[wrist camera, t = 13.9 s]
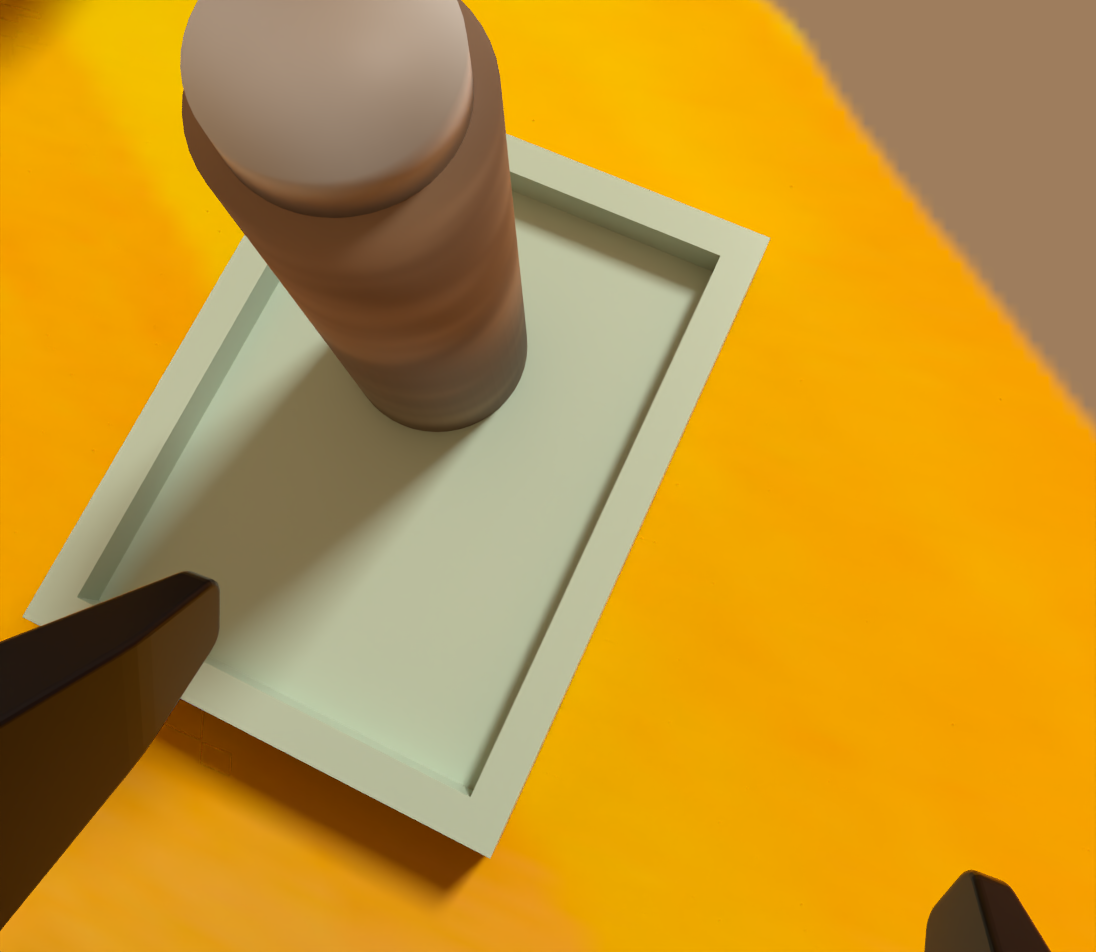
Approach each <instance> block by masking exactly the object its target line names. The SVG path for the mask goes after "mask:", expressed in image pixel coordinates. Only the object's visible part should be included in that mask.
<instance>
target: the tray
mask: <svg viewBox="0 0 1096 952" xmlns="http://www.w3.org/2000/svg"><path fill="white" fill-rule="evenodd" d="M506 140H507V149H508V159H509V169H510V178H511V188H512V197H513V207H514V217H515V226H516V236H517V245H518V255H519V265H520V274H521V284H522V293H523V303H524V312H525V322H526V332H527V346H528V347H527V359H526V363H525V368H524V371H523V373H522V376H521V379H520V381H519V383H518V385H517V386H516V388H515V390H514V391H513V393H512V394H511V396H510V397H509V398H508V399H507V401H506V402H505V403H504V404H503V405H502V406H501V407H500V408H499V409H497V410H496V411H495V412H494V413H493V414H491V415H490V416H488V417H487V418H485V419H483V420H482V421H480V422H478V423H475V424H473V425H471V426H468V427H465V428H462V429H458V430H453V431H445V432H429V431H421V430H416V429H412V428H409V427H406V426H403V425H401V424H399V423H397V422H395V421H393V420H391V419H390V418H388V417H387V416H385V415H384V414H383V413H381V412H380V411H379V410H378V409H377V408H376V407H375V406H374V405H373V404H372V403H371V402H370V400H369V399H368V398H367V397H366V396H365V394H364V393H363V392H362V390H361V389H360V388H359V386H358V385H357V384H356V382H355V381H354V380H353V378H352V377H351V376H350V374H349V373H348V371H347V370H346V369H345V367H344V366H343V365H342V363H341V362H340V361H339V359H338V358H337V357H336V355H335V354H334V353H333V351H332V350H331V349H330V347H329V346H328V345H327V343H326V342H325V341H324V339H323V338H322V337H321V335H320V334H319V333H318V331H317V330H316V329H315V327H314V326H313V325H312V323H311V322H310V321H309V319H308V318H307V317H306V315H305V314H304V313H303V311H302V310H301V309H300V307H299V306H298V305H297V303H296V302H295V301H294V299H293V298H292V297H291V295H290V294H289V293H288V291H287V290H286V289H285V287H284V286H283V285H282V283H281V282H280V281H279V279H278V278H277V277H276V275H275V274H274V273H273V271H272V270H271V269H270V267H269V266H268V265H267V263H266V262H265V261H264V259H263V258H262V257H261V255H260V254H259V253H258V251H257V250H256V249H255V247H254V246H253V245H252V243H251V242H250V241H249V239H248V238H247V237H246V235H244V237H243V239H242V240H241V242H240V244H239V245H238V247H237V249H236V251H235V252H234V254H233V256H232V257H231V259H230V261H229V263H228V264H227V266H226V268H225V269H224V271H223V273H222V275H221V276H220V278H219V280H218V281H217V283H216V285H215V287H214V288H213V290H212V292H211V294H210V295H209V297H208V299H207V300H206V302H205V304H204V306H203V307H202V309H201V311H200V312H199V314H198V316H197V318H196V319H195V321H194V323H193V324H192V326H191V328H190V330H189V331H188V333H187V335H186V337H185V338H184V340H183V342H182V343H181V345H180V347H179V349H178V350H177V352H176V354H175V355H174V357H173V359H172V361H171V362H170V364H169V366H168V367H167V369H166V371H165V373H164V374H163V376H162V378H161V379H160V381H159V383H158V385H157V386H156V388H155V390H154V392H153V393H152V395H151V397H150V398H149V400H148V402H147V404H146V405H145V407H144V409H143V410H142V412H141V414H140V416H139V417H138V419H137V421H136V422H135V424H134V426H133V428H132V429H131V431H130V433H129V434H128V436H127V438H126V440H125V441H124V443H123V445H122V447H121V448H120V450H119V452H118V453H117V455H116V457H115V459H114V460H113V462H112V464H111V465H110V467H109V469H108V471H107V472H106V474H105V476H104V477H103V479H102V481H101V483H100V484H99V486H98V488H97V489H96V491H95V493H94V495H93V496H92V498H91V500H90V502H89V503H88V505H87V507H86V508H85V510H84V512H83V514H82V515H81V517H80V519H79V520H78V522H77V524H76V526H75V527H74V529H73V531H72V532H71V534H70V536H69V538H68V539H67V541H66V543H65V544H64V546H63V548H62V550H61V551H60V553H59V555H58V557H57V558H56V560H55V562H54V563H53V565H52V567H51V569H50V570H49V572H48V574H47V575H46V577H45V579H44V581H43V582H42V584H41V586H40V587H39V589H38V591H37V593H36V594H35V596H34V598H33V600H32V601H31V603H30V605H29V606H28V608H27V610H26V612H25V613H24V615H23V617H24V618H26V619H28V620H30V621H31V622H33V623H35V624H37V625H39V626H42V625H45V624H47V623H50V622H52V621H55V620H57V619H60V618H63V617H65V616H68V615H70V614H73V613H75V612H78V611H81V610H83V609H86V608H88V607H91V606H93V605H96V604H99V603H101V602H104V601H106V600H109V599H111V598H114V597H117V596H119V595H122V594H124V593H127V592H129V591H132V590H135V589H137V588H140V587H142V586H145V585H148V584H150V583H153V582H155V581H158V580H160V579H163V578H166V577H168V576H171V575H173V574H176V573H178V572H182V571H192V572H195V573H198V574H200V575H203V576H206V577H208V578H211V579H213V580H215V581H216V582H217V583H218V585H219V587H220V629H219V635H218V638H217V641H216V643H215V645H214V647H213V649H212V650H211V652H210V654H209V655H208V657H207V658H206V660H205V661H204V663H203V664H202V666H201V667H200V669H199V670H198V672H197V674H196V675H195V677H194V678H193V680H192V681H191V683H190V684H189V686H188V687H187V689H186V690H185V692H184V694H183V695H182V697H181V698H180V699H182V700H184V701H186V702H188V703H190V704H192V705H194V706H196V707H198V708H200V709H202V710H204V711H206V712H207V713H209V714H211V715H213V716H215V717H217V718H219V719H221V720H223V721H225V722H227V723H229V724H231V725H233V726H235V727H237V728H238V729H240V730H242V731H244V732H246V733H248V734H250V735H252V736H254V737H256V738H258V739H260V740H262V741H264V742H266V743H267V744H269V745H271V746H273V747H275V748H277V749H279V750H281V751H283V752H285V753H287V754H289V755H291V756H293V757H295V758H296V759H298V760H300V761H302V762H304V763H306V764H308V765H310V766H312V767H314V768H316V769H318V770H320V771H322V772H324V773H325V774H327V775H329V776H331V777H333V778H335V779H337V780H339V781H341V782H343V783H345V784H347V785H349V786H351V787H353V788H354V789H356V790H358V791H360V792H362V793H364V794H366V795H368V796H370V797H372V798H374V799H376V800H378V801H380V802H382V803H383V804H385V805H387V806H389V807H391V808H393V809H395V810H397V811H399V812H401V813H403V814H405V815H407V816H409V817H411V818H412V819H414V820H416V821H418V822H420V823H422V824H424V825H426V826H428V827H430V828H432V829H434V830H436V831H438V832H440V833H442V834H443V835H445V836H447V837H449V838H451V839H453V840H455V841H457V842H459V843H461V844H463V845H465V846H467V847H469V848H471V849H472V850H474V851H476V852H478V853H480V854H482V855H484V856H486V857H488V858H491V856H492V854H493V852H494V850H495V848H496V846H497V844H498V843H499V840H500V838H501V836H502V834H503V831H504V829H505V827H506V825H507V823H508V820H509V818H510V816H511V814H512V812H513V809H514V807H515V805H516V803H517V800H518V798H519V796H520V794H521V792H522V789H523V787H524V785H525V783H526V781H527V778H528V776H529V774H530V772H531V769H532V767H533V765H534V763H535V761H536V758H537V756H538V754H539V752H540V750H541V747H542V745H543V743H544V741H545V738H546V736H547V734H548V732H549V730H550V727H551V725H552V723H553V721H554V719H555V716H556V714H557V712H558V710H559V707H560V705H561V703H562V701H563V699H564V696H565V694H566V692H567V690H568V688H569V685H570V683H571V681H572V679H573V676H574V674H575V672H576V670H577V668H578V665H579V663H580V661H581V659H582V657H583V654H584V652H585V650H586V648H587V645H588V643H589V641H590V639H591V637H592V634H593V632H594V630H595V628H596V626H597V623H598V621H599V619H600V617H601V614H602V612H603V610H604V608H605V606H606V603H607V601H608V599H609V597H610V595H611V592H612V590H613V588H614V586H615V583H616V581H617V579H618V577H619V575H620V572H621V570H622V568H623V566H624V564H625V561H626V559H627V557H628V555H629V552H630V550H631V548H632V546H633V544H634V541H635V539H636V537H637V535H638V533H639V530H640V528H641V526H642V524H643V521H644V519H645V517H646V515H647V513H648V510H649V508H650V506H651V504H652V502H653V499H654V497H655V495H656V493H657V490H658V488H659V486H660V484H661V482H662V479H663V477H664V475H665V473H666V471H667V468H668V466H669V464H670V462H671V459H672V457H673V455H674V453H675V451H676V448H677V446H678V444H679V442H680V440H681V437H682V435H683V433H684V431H685V428H686V426H687V424H688V422H689V420H690V417H691V415H692V413H693V411H694V409H695V406H696V404H697V402H698V400H699V397H700V395H701V393H702V391H703V389H704V386H705V384H706V382H707V380H708V378H709V375H710V373H711V371H712V369H713V366H714V364H715V362H716V360H717V358H718V355H719V353H720V351H721V349H722V347H723V344H724V342H725V340H726V338H727V335H728V333H729V331H730V329H731V327H732V324H733V322H734V320H735V318H736V316H737V313H738V311H739V309H740V307H741V304H742V302H743V300H744V298H745V296H746V293H747V291H748V289H749V287H750V285H751V282H752V280H753V278H754V276H755V273H756V271H757V269H758V266H759V264H760V262H761V259H762V257H763V255H764V252H765V250H766V247H767V245H768V243H769V240H770V238H769V237H767V236H764V235H762V234H759V233H756V232H754V231H751V230H749V229H746V228H744V227H741V226H739V225H736V224H734V223H731V222H729V221H726V220H724V219H721V218H718V217H716V216H713V215H711V214H708V213H706V212H703V211H701V210H698V209H696V208H693V207H691V206H688V205H686V204H683V203H680V202H678V201H675V200H673V199H670V198H668V197H665V196H663V195H660V194H658V193H655V192H653V191H650V190H647V189H645V188H642V187H640V186H637V185H635V184H632V183H630V182H627V181H625V180H622V179H620V178H617V177H615V176H612V175H609V174H607V173H604V172H602V171H599V170H597V169H594V168H592V167H589V166H587V165H584V164H582V163H579V162H577V161H574V160H571V159H569V158H566V157H564V156H561V155H559V154H556V153H554V152H551V151H549V150H546V149H544V148H541V147H539V146H536V145H533V144H531V143H528V142H526V141H523V140H521V139H518V138H516V137H513V136H511V135H508V134H506Z"/></svg>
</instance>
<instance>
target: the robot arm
mask: <svg viewBox="0 0 1096 952" xmlns="http://www.w3.org/2000/svg"><path fill="white" fill-rule="evenodd" d="M219 629H220V587H219V585H218V583H217V582H216V581H215V580H213V579H211V578H208V577H206V576H203V575H200V574H198V573H195V572H192V571H182V572H178V573H176V574H173V575H171V576H168V577H166V578H163V579H160V580H158V581H155V582H153V583H150V584H148V585H145V586H142V587H140V588H137V589H135V590H132V591H129V592H127V593H124V594H122V595H119V596H117V597H114V598H111V599H109V600H106V601H104V602H101V603H99V604H96V605H93V606H91V607H88V608H86V609H83V610H81V611H78V612H75V613H73V614H70V615H68V616H65V617H63V618H60V619H57V620H55V621H52V622H50V623H47V624H45V625H42V626H39V627H37V628H34V629H32V630H29V631H27V632H24V633H21V634H19V635H16V636H14V637H11V638H8V639H6V640H3V641H1V642H0V930H1V929H2V928H3V927H4V925H5V924H6V923H7V922H8V921H9V919H10V918H11V917H12V916H13V914H14V913H15V912H16V911H17V910H18V908H19V907H20V906H21V905H22V903H23V902H24V901H25V900H26V898H27V897H28V896H29V895H30V894H31V892H32V891H33V890H34V889H35V887H36V886H37V885H38V884H39V882H40V881H41V880H42V879H43V878H44V876H45V875H46V874H47V873H48V871H49V870H50V869H51V868H52V867H53V865H54V864H55V863H56V862H57V860H58V859H59V858H60V857H61V855H62V854H63V853H64V852H65V851H66V849H67V848H68V847H69V846H70V844H71V843H72V842H73V841H74V840H75V838H76V837H77V836H78V835H79V833H80V832H81V831H82V830H83V828H84V827H85V826H86V825H87V824H88V822H89V821H90V820H91V819H92V817H93V816H94V815H95V814H96V812H97V811H98V810H99V809H100V808H101V806H102V805H103V804H104V803H105V801H106V800H107V799H108V798H109V797H110V795H111V794H112V793H113V792H114V790H115V789H116V788H117V787H118V785H119V784H120V783H121V782H122V781H123V779H124V778H125V777H126V776H127V774H128V773H129V772H130V771H131V769H132V768H133V767H134V766H135V764H136V763H137V762H138V760H139V759H140V758H141V757H142V755H143V754H144V753H145V751H146V750H147V748H148V747H149V745H150V744H151V742H152V741H153V739H154V738H155V737H156V735H157V734H158V732H159V730H160V729H161V727H162V726H163V724H164V723H165V721H166V720H167V718H168V717H169V715H170V714H171V712H172V710H173V709H174V707H175V706H176V704H177V703H178V701H179V700H180V698H181V697H182V695H183V694H184V692H185V690H186V689H187V687H188V686H189V684H190V683H191V681H192V680H193V678H194V677H195V675H196V674H197V672H198V670H199V669H200V667H201V666H202V664H203V663H204V661H205V660H206V658H207V657H208V655H209V654H210V652H211V650H212V649H213V647H214V645H215V643H216V641H217V638H218V635H219ZM925 952H1051V951H1050V949H1049V948H1048V946H1047V945H1046V943H1045V941H1044V940H1043V938H1042V936H1041V935H1040V933H1039V932H1038V930H1037V928H1036V927H1035V925H1034V923H1033V922H1032V920H1031V919H1030V917H1029V915H1028V914H1027V912H1026V910H1025V909H1024V907H1023V906H1022V904H1021V902H1020V901H1019V899H1018V897H1017V896H1016V894H1015V893H1014V891H1013V890H1012V889H1011V887H1010V886H1009V885H1008V884H1006V883H1005V882H1003V881H1001V880H999V879H996V878H993V877H991V876H988V875H986V874H983V873H980V872H978V871H975V870H968V871H966V872H964V873H963V874H961V875H960V876H959V878H958V879H957V880H956V881H955V882H954V884H953V885H952V886H951V887H950V888H949V889H948V891H947V892H946V893H945V894H944V895H943V896H942V898H941V899H940V900H939V901H938V902H937V904H936V905H935V906H934V908H933V909H932V911H931V913H930V916H929V919H928V922H927V928H926V939H925Z"/></svg>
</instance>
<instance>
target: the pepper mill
mask: <svg viewBox="0 0 1096 952" xmlns="http://www.w3.org/2000/svg"><path fill="white" fill-rule="evenodd" d="M181 76H182V84H183V88H184V91H183V100H182V118H183V126H184V134H185V137H186V141H187V144H188V148H189V151H190V154H191V156H192V158H193V160H194V163H195V165H196V167H197V169H198V171H199V172H200V174H201V175H202V177H203V179H204V180H205V182H206V183H207V185H208V186H209V187H210V189H211V190H212V191H213V193H214V194H215V195H216V197H217V198H218V199H219V201H220V202H221V203H222V205H223V206H224V207H225V209H226V210H227V211H228V213H229V214H230V215H231V217H232V218H233V219H234V221H235V222H236V223H237V225H238V226H239V227H240V229H241V230H242V231H243V233H244V234H245V235H246V237H247V238H248V239H249V241H250V242H251V243H252V245H253V246H254V247H255V249H256V250H257V251H258V253H259V254H260V255H261V257H262V258H263V259H264V261H265V262H266V263H267V265H268V266H269V267H270V269H271V270H272V271H273V273H274V274H275V275H276V277H277V278H278V279H279V281H280V282H281V283H282V285H283V286H284V287H285V289H286V290H287V291H288V293H289V294H290V295H291V297H292V298H293V299H294V301H295V302H296V303H297V305H298V306H299V307H300V309H301V310H302V311H303V313H304V314H305V315H306V317H307V318H308V319H309V321H310V322H311V323H312V325H313V326H314V327H315V329H316V330H317V331H318V333H319V334H320V335H321V337H322V338H323V339H324V341H325V342H326V343H327V345H328V346H329V347H330V349H331V350H332V351H333V353H334V354H335V355H336V357H337V358H338V359H339V361H340V362H341V363H342V365H343V366H344V367H345V369H346V370H347V371H348V373H349V374H350V376H351V377H352V378H353V380H354V381H355V382H356V384H357V385H358V386H359V388H360V389H361V390H362V392H363V393H364V394H365V396H366V397H367V398H368V399H369V400H370V402H371V403H372V404H373V405H374V406H375V407H376V408H377V409H378V410H379V411H380V412H381V413H383V414H384V415H385V416H387V417H388V418H390V419H391V420H393V421H395V422H397V423H399V424H401V425H403V426H406V427H409V428H412V429H416V430H421V431H429V432H445V431H453V430H458V429H462V428H465V427H468V426H471V425H473V424H475V423H478V422H480V421H482V420H483V419H485V418H487V417H488V416H490V415H491V414H493V413H494V412H495V411H496V410H497V409H499V408H500V407H501V406H502V405H503V404H504V403H505V402H506V401H507V399H508V398H509V397H510V396H511V394H512V393H513V391H514V390H515V388H516V386H517V385H518V383H519V381H520V379H521V376H522V373H523V371H524V368H525V363H526V359H527V347H528V346H527V332H526V322H525V312H524V303H523V293H522V284H521V274H520V265H519V255H518V245H517V236H516V226H515V217H514V207H513V197H512V188H511V178H510V169H509V159H508V149H507V140H506V130H505V121H504V111H503V101H502V92H501V82H500V74H499V70H498V65H497V60H496V56H495V54H494V51H493V48H492V45H491V43H490V40H489V38H488V36H487V35H486V33H485V31H484V29H483V27H482V25H481V24H480V22H479V21H478V20H477V18H476V17H475V16H474V14H473V13H472V12H471V10H470V9H469V8H468V7H467V6H466V5H465V4H464V3H463V2H462V1H461V0H198V2H197V3H196V5H195V7H194V9H193V12H192V14H191V16H190V18H189V20H188V24H187V27H186V30H185V33H184V37H183V43H182V48H181Z"/></svg>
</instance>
